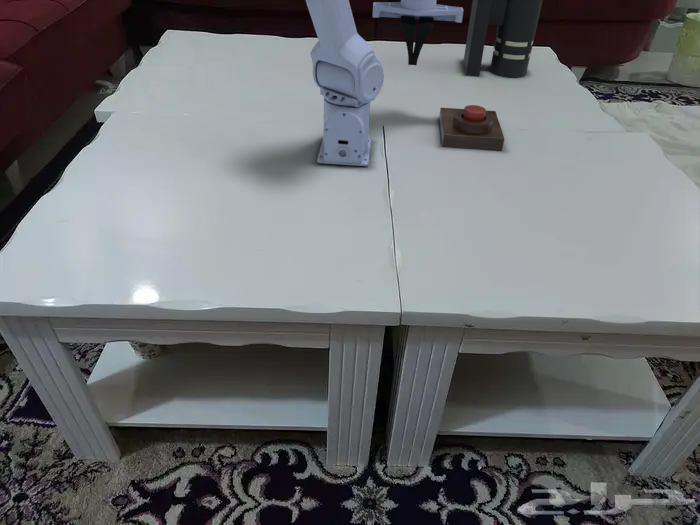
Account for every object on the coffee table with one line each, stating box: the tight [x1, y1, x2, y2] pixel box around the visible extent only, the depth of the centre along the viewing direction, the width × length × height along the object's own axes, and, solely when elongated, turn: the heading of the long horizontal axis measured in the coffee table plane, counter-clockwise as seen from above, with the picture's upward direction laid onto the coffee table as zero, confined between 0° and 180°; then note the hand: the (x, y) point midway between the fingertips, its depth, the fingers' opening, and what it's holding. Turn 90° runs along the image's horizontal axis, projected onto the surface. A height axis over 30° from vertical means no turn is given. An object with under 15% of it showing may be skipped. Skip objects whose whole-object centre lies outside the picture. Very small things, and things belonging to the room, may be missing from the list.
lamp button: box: [463, 104, 487, 122], centre depth 97 cm, size 4×4×2 cm
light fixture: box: [462, 0, 544, 78], centre depth 124 cm, size 10×14×18 cm
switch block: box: [438, 107, 505, 151], centre depth 100 cm, size 12×10×4 cm
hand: (412, 63), depth 98 cm, fingers closed
